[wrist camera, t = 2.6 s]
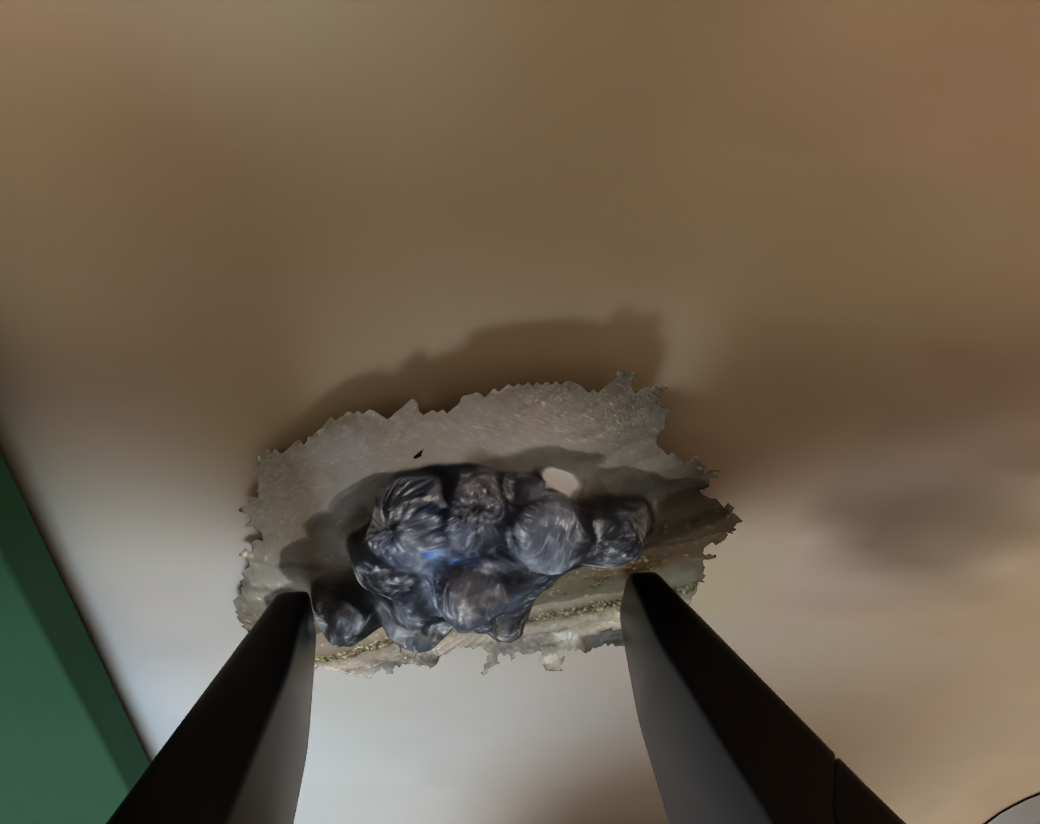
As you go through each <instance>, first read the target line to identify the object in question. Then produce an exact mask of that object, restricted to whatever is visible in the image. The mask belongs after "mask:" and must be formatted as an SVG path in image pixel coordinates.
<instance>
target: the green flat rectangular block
mask: <svg viewBox="0 0 1040 824" xmlns="http://www.w3.org/2000/svg"><path fill="white" fill-rule="evenodd" d="M149 765H150V763H149V761H148V759H147V756H146V754H145V752H144V750H143V748H142V746H141V744H140V742H139V740H138V738H137V736H136V734H135V731H134V729H133V727H132V725H131V723H130V721H129V719H128V717H127V715H126V713H125V711H124V709H123V706H122V704H121V702H120V700H119V698H118V696H117V694H116V692H115V690H114V688H113V686H112V684H111V681H110V679H109V677H108V675H107V673H106V671H105V669H104V667H103V665H102V663H101V661H100V658H99V656H98V654H97V652H96V650H95V648H94V646H93V644H92V642H91V640H90V638H89V636H88V633H87V631H86V629H85V627H84V625H83V623H82V621H81V619H80V617H79V615H78V613H77V611H76V608H75V606H74V604H73V602H72V600H71V598H70V596H69V594H68V592H67V590H66V588H65V586H64V583H63V581H62V579H61V577H60V575H59V573H58V571H57V569H56V567H55V565H54V563H53V560H52V558H51V556H50V554H49V552H48V550H47V548H46V546H45V544H44V542H43V540H42V538H41V535H40V533H39V531H38V529H37V527H36V525H35V523H34V521H33V519H32V517H31V515H30V513H29V510H28V508H27V506H26V504H25V502H24V500H23V498H22V496H21V494H20V492H19V490H18V488H17V485H16V483H15V481H14V479H13V477H12V475H11V473H10V471H9V469H8V467H7V465H6V463H5V460H4V458H3V456H2V454H1V452H0V824H106V823H107V821H108V820H109V819H110V817H111V816H112V815H113V813H114V812H115V811H116V809H117V808H118V807H119V805H120V804H121V803H122V801H123V800H124V799H125V797H126V796H127V795H128V793H129V792H130V791H131V789H132V788H133V787H134V785H135V784H136V783H137V781H138V780H139V779H140V777H141V776H142V775H143V773H144V772H145V770H146V769H147V768H148V766H149Z"/></svg>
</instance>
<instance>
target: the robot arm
mask: <svg viewBox="0 0 1040 824" xmlns="http://www.w3.org/2000/svg"><path fill="white" fill-rule="evenodd" d="M620 623H621V629H622V634H623V640H624V645H625V650H626V656H627V661H628V667H629V672H630V677H631V683H632V688H633V694H634V699H635V704H636V709H637V714H638V719H639V723H640V727H641V731H642V734H643V738H644V741H645V745H646V748H647V751H648V755H649V758H650V761H651V764H652V768H653V771H654V774H655V778H656V781H657V784H658V788H659V791H660V794H661V798H662V801H663V804H664V808H665V811H666V814H667V817H668V821H669V824H906V823H905V822H904V821H903V820H902V819H900V818H899V817H898V816H897V815H896V814H895V813H894V812H893V811H892V810H891V809H890V808H889V807H888V806H887V805H886V804H885V803H884V802H883V801H882V800H881V799H880V798H879V797H878V796H877V795H876V794H875V793H874V792H873V791H872V790H871V789H870V788H868V787H867V786H866V785H865V784H864V783H863V782H862V781H861V780H860V779H859V778H858V777H857V776H856V775H855V774H854V773H853V771H852V770H851V769H850V768H849V767H848V766H847V765H846V764H845V763H844V762H843V761H842V760H841V759H839V758H836V759H835V754H834V752H833V751H832V750H831V749H830V748H829V747H828V746H827V745H826V744H825V743H824V742H823V741H822V740H821V739H820V738H819V737H818V736H817V735H816V734H815V733H814V732H813V731H812V730H811V729H810V728H809V727H808V726H807V725H806V724H805V723H804V722H803V721H802V720H801V719H800V718H799V717H798V716H797V715H796V714H795V713H794V712H793V711H792V710H791V709H790V708H789V707H788V706H787V705H786V704H785V703H784V702H783V701H782V700H781V699H780V698H779V696H778V695H777V694H776V693H775V692H774V691H773V690H772V689H771V688H770V687H769V686H768V685H767V684H766V683H765V682H764V681H763V680H762V679H761V678H760V677H759V676H758V675H757V674H756V673H755V672H754V671H753V670H752V669H751V668H750V667H749V666H748V665H747V664H746V663H745V662H744V661H743V660H742V659H741V658H740V657H739V656H738V655H737V654H736V653H735V652H734V651H733V650H732V649H731V648H730V647H729V646H728V645H727V644H726V643H725V642H724V641H723V640H722V638H721V637H720V636H719V635H718V634H717V633H716V632H715V631H714V630H713V629H712V628H711V627H710V626H709V625H708V624H707V623H706V622H705V621H704V620H703V619H702V618H701V617H700V616H699V615H698V614H697V613H696V612H695V611H694V610H693V609H692V608H691V607H690V606H689V605H688V604H687V603H686V602H685V601H684V600H683V599H682V598H681V597H680V596H679V595H678V594H677V593H676V592H675V591H674V590H673V589H672V588H671V587H670V586H669V585H668V584H667V583H666V581H665V580H664V579H663V578H662V577H661V576H660V575H658V574H657V573H655V572H633V573H630V574H629V575H628V577H627V579H626V583H625V588H624V593H623V597H622V602H621V607H620ZM315 650H316V628H315V622H314V616H313V610H312V605H311V599H310V596H309V594H308V593H307V592H305V591H296V592H282V593H279V594H278V595H276V596H275V598H274V599H273V600H272V602H271V603H270V604H269V606H268V607H267V608H266V610H265V611H264V612H263V614H262V615H261V616H260V618H259V619H258V620H257V622H256V623H255V624H254V626H253V627H252V628H251V630H250V631H249V632H248V634H247V635H246V636H245V638H244V639H243V640H242V642H241V643H240V644H239V646H238V647H237V648H236V650H235V651H234V652H233V654H232V655H231V657H230V658H229V659H228V661H227V662H226V663H225V665H224V666H223V667H222V669H221V670H220V671H219V673H218V674H217V675H216V677H215V678H214V679H213V681H212V682H211V683H210V685H209V686H208V687H207V689H206V690H205V691H204V693H203V694H202V695H201V697H200V698H199V699H198V701H197V702H196V703H195V705H194V706H193V707H192V709H191V710H190V711H189V713H188V714H187V716H186V717H185V718H184V720H183V721H182V722H181V724H180V725H179V726H178V728H177V729H176V730H175V732H174V733H173V734H172V736H171V737H170V738H169V740H168V741H167V742H166V744H165V745H164V746H163V748H162V749H161V750H160V752H159V753H158V754H157V756H156V757H155V758H154V760H153V761H152V762H151V764H150V765H149V766H148V768H147V769H146V770H145V772H144V773H143V775H142V776H141V777H140V779H139V780H138V781H137V783H136V784H135V785H134V787H133V788H132V789H131V791H130V792H129V793H128V795H127V796H126V797H125V799H124V800H123V801H122V803H121V804H120V805H119V807H118V808H117V809H116V811H115V812H114V813H113V815H112V816H111V817H110V819H109V820H108V821H107V823H106V824H293V822H294V817H295V812H296V807H297V802H298V797H299V792H300V787H301V782H302V777H303V771H304V766H305V760H306V754H307V747H308V737H309V727H310V714H311V701H312V688H313V675H314V662H315Z"/></svg>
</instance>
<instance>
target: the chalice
mask: <svg viewBox="0 0 1040 824" xmlns="http://www.w3.org/2000/svg"><path fill="white" fill-rule="evenodd" d="M988 824H1040V795H1038V796H1036V797H1033V798H1031V799H1028V800H1026V801H1024V802H1022V803H1020V804H1018V805H1016V806H1014V807H1012V808H1011V809H1009V810H1007V811H1005V812H1003V813H1001V814H1000V815H999V816H997V817H996V818H994V819H993V820H992V821H990V822H989V823H988Z"/></svg>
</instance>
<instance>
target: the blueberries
mask: <svg viewBox="0 0 1040 824" xmlns="http://www.w3.org/2000/svg"><path fill="white" fill-rule="evenodd" d="M615 373H616V374H617V375H618V376H616V377H615V378H614V379H613V380H612V381H611V382H610V383H609V384H608V385H606V386H605V387H604V388H603V389H602V390H601V391H600V392H598V393H597V392H596V391H595V390H594V389H593V390H591V391H590V392H589V393H588V392H587V391H586V390H585V389H584V388H583V387H581V386H580V385H579V384H577V383H575V382H573V381H568V380H567V381H565V382H564V383H562V384H561V385H560V384H559V383H558V382H557V381H556V382H554V383H553V384H552V385H551V384H549V383H548V382H547V381H546V382H545V383H544V384H543V385H541V384H539V383H538V382H536V383H535V384H534V385H533V386H532V385H530V384H529V383H527V384H525V385H524V386H522V385H520V384H519V383H518V384H516V385H515V386H514V387H513V386H511V385H510V384H508V385H507V386H505V387H504V388H503V389H502V390H500V391H497V390H496V389H495V388H494V389H493V390H492V391H491V392H489V394H488V395H487V396H486V397H485V398H484V397H483V396H482V395H481V394H480V393H479V392H476V393H472V394H470V395H465V396H462V398H461V400H460V402H459V404H458V405H457V406H456V407H454V408H453V409H452V410H450V411H449V412H448V413H446V412H445V411H444V410H443V409H442V410H440V411H439V412H438V413H437V412H436V411H434V410H431V411H430V412H428V413H426V414H425V415H423V414H422V413H421V412H420V411H419V410H418V403H417V402H416V401H415V400H414V399H411V400H409V401H408V402H407V403H406V404H405V405H404V406H403V407H402V408H401V409H399V410H397V411H396V412H395V413H394V414H393V415H392V417H391V418H388V419H386V418H384V417H383V416H381V415H380V414H378V413H377V412H375V411H373V410H371V409H369V410H368V411H366V412H365V413H364V414H362V413H361V412H359V411H356V412H355V413H351V412H349V411H348V412H347V413H345V414H344V415H343V416H342V417H341V418H340V417H339V418H338V419H336V420H334V419H333V417H332V416H331V417H330V418H329V419H328V420H327V421H326V423H325V424H324V426H323V427H322V428H321V429H320V430H318V431H317V432H315V433H314V435H313V436H312V437H311V436H308V439H307V442H305V443H304V444H303V443H302V442H301V440H300V439H299V440H297V441H296V442H294V443H293V444H292V445H291V446H290V447H289V448H288V449H287V450H286V451H285V452H283V453H281V454H280V453H279V452H278V451H277V450H276V449H275V450H274V451H273V452H272V453H271V452H270V451H269V450H268V449H267V448H266V450H265V451H264V453H263V454H262V455H259V456H258V458H257V460H258V461H259V462H260V463H261V464H260V465H259V466H257V467H256V468H255V469H254V471H255V473H256V474H257V479H258V488H259V489H258V490H257V491H256V492H258V493H259V495H258V498H256V497H253V496H251V498H250V499H249V501H248V502H247V503H245V504H244V505H243V506H242V507H241V508H240V509H239V511H240V512H242V513H245V514H247V517H248V518H249V519H251V520H250V521H249V522H248V523H247V524H246V525H245V526H253V527H254V528H255V529H257V530H259V531H260V532H262V536H263V541H261V540H256V539H255V540H254V541H253V542H252V548H253V551H252V552H251V553H249V552H248V551H247V550H246V549H244V550H243V551H242V552H241V553H240V554H239V555H240V556H242V557H243V558H245V559H246V560H248V561H249V564H250V566H249V567H248V568H247V569H246V570H245V571H243V572H242V573H241V574H242V575H243V576H244V577H245V578H244V579H242V580H241V581H240V583H241V584H242V585H243V587H241V590H242V594H241V595H240V596H238V597H237V598H236V599H235V600H234V604H235V607H236V609H237V610H236V613H237V614H238V616H237V619H238V620H239V621H240V622H241V623H243V624H244V625H242V627H243V628H245V629H246V630H247V631H248V632H249V631H250V630H251V628H252V627H253V626H254V624H255V623H256V622H257V620H258V619H259V618H260V616H261V615H262V614H263V612H264V611H265V610H266V608H267V607H268V606H269V604H270V603H271V602H272V600H273V599H274V598H275V596H276V595H278V594H279V593H282V592H296V591H305V592H307V593H308V594H309V596H310V599H311V605H312V610H313V616H314V622H315V628H316V650H315V662H314V670H315V669H316V668H317V667H318V666H320V667H322V668H327V669H330V670H337V671H342V672H344V673H346V674H349V675H355V676H360V677H367V678H370V676H372V675H373V674H374V673H375V672H376V671H378V670H380V669H381V668H383V669H385V670H386V674H393V670H392V669H393V668H394V666H395V665H397V666H398V667H400V666H401V664H402V663H403V664H410V663H412V664H416V665H418V666H421V665H425V666H429V667H430V669H431V667H433V666H435V665H436V664H437V662H438V659H439V657H440V656H442V655H444V654H447V653H448V652H449V651H451V650H452V649H454V648H455V647H456V646H458V645H459V646H460V647H461V648H462V647H463V645H464V646H465V648H467V647H469V646H470V647H471V648H472V649H473V648H476V647H477V646H479V645H480V646H481V647H482V648H483V649H484V650H486V651H487V652H488V653H489V655H488V656H487V663H486V664H485V665H484V671H483V672H481V674H483V675H484V674H486V673H487V671H488V669H489V668H490V667H492V666H494V665H496V664H498V663H499V662H498V661H497V655H498V654H499V653H500V652H501V653H502V654H503V655H506V654H507V653H508V654H509V655H511V660H512V659H514V653H515V652H516V651H519V652H521V653H522V654H523V655H524V654H532V653H534V652H536V651H538V650H540V651H541V652H542V658H540V659H539V661H540V662H541V663H542V664H543V665H544V667H545V670H549V671H562V669H561V668H559V666H560V665H561V664H562V663H563V661H564V657H565V656H562V651H563V650H564V649H565V648H566V649H567V650H571V649H572V648H573V649H574V650H578V649H581V650H582V651H583V652H584V653H587V652H588V651H591V649H592V648H597V647H599V646H602V645H603V644H605V643H606V644H607V646H609V645H610V644H611V643H613V644H614V645H615V646H625V645H624V640H623V634H622V629H621V623H620V607H621V602H622V597H623V593H624V588H625V583H626V579H627V577H628V575H629V574H630V573H633V572H655V573H657V574H658V575H660V576H661V577H662V578H663V579H664V580H665V581H666V583H667V584H668V585H669V586H670V587H671V588H672V589H673V590H674V591H675V592H676V593H677V594H678V595H679V596H680V597H681V598H682V599H683V600H684V601H685V602H686V603H687V604H689V603H690V602H691V599H692V596H693V595H694V594H695V593H696V591H697V585H698V583H699V582H704V581H702V580H703V578H704V577H705V575H704V574H703V571H704V568H705V567H704V566H703V562H702V561H703V560H704V559H712V558H715V557H716V555H714V556H712V555H711V554H708V555H706V556H705V555H704V554H702V553H703V550H704V548H705V547H706V546H707V545H709V544H710V543H711V542H713V543H714V544H715V545H717V544H718V543H720V542H722V541H724V540H725V539H726V537H727V535H728V534H727V533H732V531H735V530H736V529H735V528H734V526H735V525H736V524H737V523H739V522H742V520H741V519H740V518H739V517H738V516H737V515H735V514H734V513H732V512H733V509H734V507H733V506H731V505H730V504H729V503H728V504H727V505H726V506H725V508H724V507H723V506H722V505H721V504H720V503H719V501H718V500H717V499H713V498H708V497H707V496H704V495H703V494H702V493H701V492H700V491H699V490H703V489H705V488H707V487H709V478H711V477H717V476H716V475H715V474H714V471H710V472H708V473H707V474H705V473H704V469H705V466H704V465H703V464H702V462H701V461H700V460H699V459H697V458H696V457H695V456H694V455H693V456H692V460H691V461H690V460H689V461H687V462H685V463H684V462H682V461H681V460H680V459H679V458H678V457H677V456H676V455H675V454H674V453H673V452H672V453H671V454H669V455H667V454H666V453H665V452H664V451H663V450H662V449H661V448H660V447H659V446H658V445H657V437H658V435H659V433H660V432H661V431H662V430H663V429H664V428H665V419H664V418H665V417H666V413H667V412H668V411H669V410H671V409H672V408H671V407H670V406H667V407H665V408H664V409H663V408H662V407H661V406H659V405H658V404H657V403H656V402H655V401H656V400H657V399H658V398H660V397H659V396H658V394H660V393H661V392H663V391H664V390H665V389H667V388H668V387H667V386H666V383H663V384H662V385H661V386H660V387H659V388H658V387H657V386H656V385H655V384H654V385H653V386H652V387H651V388H649V387H648V386H645V387H643V388H642V389H640V390H639V391H638V392H637V393H635V392H634V391H633V390H632V389H631V382H632V379H633V378H635V377H636V376H637V375H636V374H635V373H634V372H633V371H632V372H630V373H629V374H626V373H625V372H624V371H619V372H615ZM423 448H424V450H423V452H422V454H421V457H419V458H417V459H414V458H413V457H414V456H415V455H416V454H417V453H419V452H420V451H421V450H422V449H423ZM718 471H719V470H718ZM732 534H733V533H732Z"/></svg>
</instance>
